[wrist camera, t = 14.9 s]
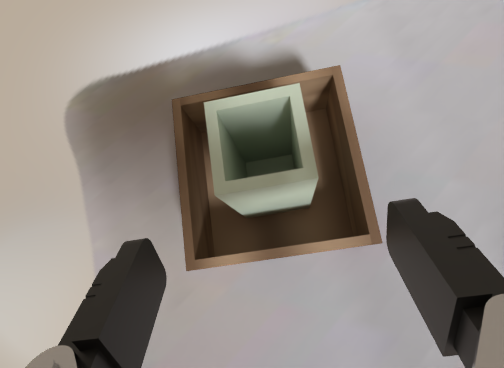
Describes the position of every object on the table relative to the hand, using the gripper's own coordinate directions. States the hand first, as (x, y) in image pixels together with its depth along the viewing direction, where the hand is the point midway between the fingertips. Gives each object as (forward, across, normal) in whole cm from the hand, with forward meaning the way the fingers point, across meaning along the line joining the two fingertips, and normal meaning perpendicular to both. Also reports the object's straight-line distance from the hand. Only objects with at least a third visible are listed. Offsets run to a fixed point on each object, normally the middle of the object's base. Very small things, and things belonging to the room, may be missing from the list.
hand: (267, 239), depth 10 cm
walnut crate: (+14, 0, +6) cm, 15 cm away
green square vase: (+13, 0, +6) cm, 14 cm away
